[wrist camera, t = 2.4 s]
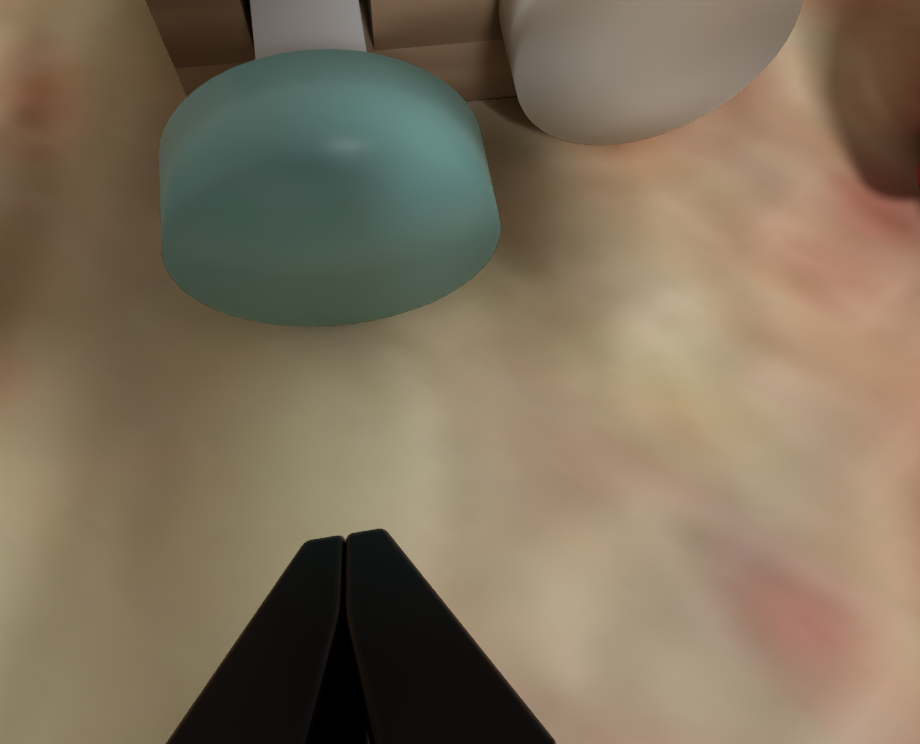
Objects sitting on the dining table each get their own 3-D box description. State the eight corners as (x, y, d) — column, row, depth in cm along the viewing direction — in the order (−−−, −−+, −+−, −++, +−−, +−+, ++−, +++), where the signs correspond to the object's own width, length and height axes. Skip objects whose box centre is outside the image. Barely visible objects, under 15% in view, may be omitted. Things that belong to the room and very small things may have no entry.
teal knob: (485, 306, 20) (521, 131, 13) (215, 341, 20) (99, 175, 12) (416, -38, 25) (416, -307, 18) (194, -21, 24) (99, -297, 17)
